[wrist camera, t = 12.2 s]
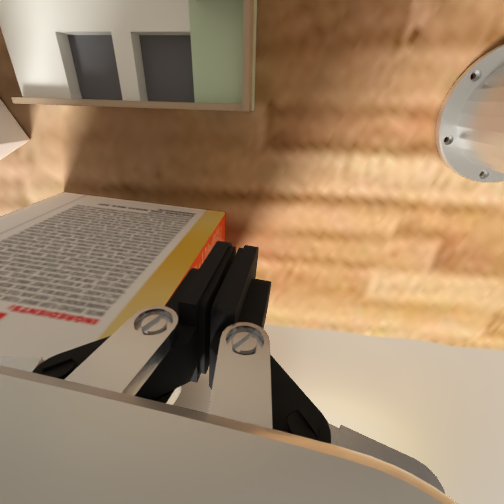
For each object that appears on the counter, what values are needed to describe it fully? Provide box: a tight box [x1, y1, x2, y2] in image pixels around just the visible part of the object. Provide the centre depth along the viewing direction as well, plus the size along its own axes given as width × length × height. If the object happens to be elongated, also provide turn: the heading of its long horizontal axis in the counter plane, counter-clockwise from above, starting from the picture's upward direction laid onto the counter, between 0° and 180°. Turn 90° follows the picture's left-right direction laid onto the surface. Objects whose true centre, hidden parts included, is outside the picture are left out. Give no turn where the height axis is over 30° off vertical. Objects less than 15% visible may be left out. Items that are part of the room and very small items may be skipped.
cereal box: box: [0, 192, 226, 361], centre depth 27 cm, size 23×8×30 cm, turn 86°
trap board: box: [0, 0, 257, 112], centre depth 27 cm, size 26×14×4 cm, turn 89°
